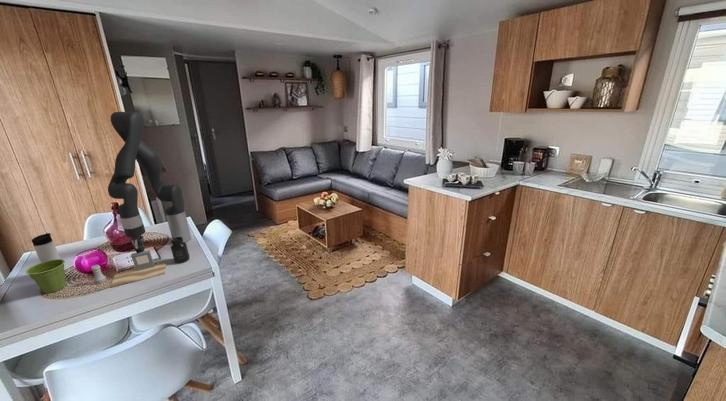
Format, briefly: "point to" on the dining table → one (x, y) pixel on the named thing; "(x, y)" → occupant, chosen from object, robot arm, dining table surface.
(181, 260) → the supplement bottle
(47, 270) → the plant pot
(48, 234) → the travel mug
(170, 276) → the dining table surface
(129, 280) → the mat
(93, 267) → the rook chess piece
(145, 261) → the grey picture frame
